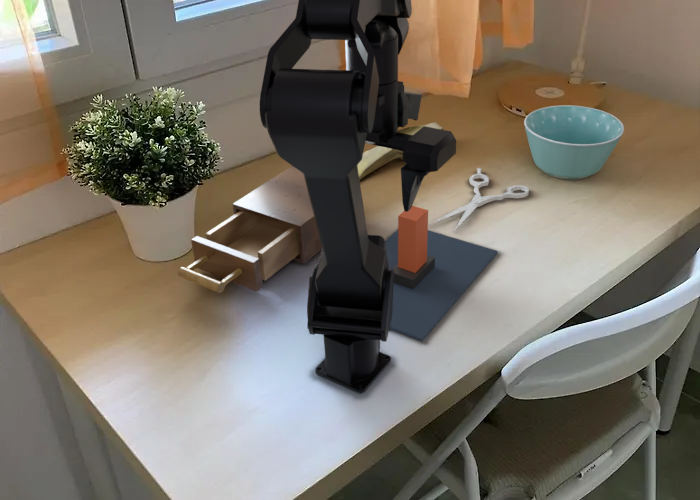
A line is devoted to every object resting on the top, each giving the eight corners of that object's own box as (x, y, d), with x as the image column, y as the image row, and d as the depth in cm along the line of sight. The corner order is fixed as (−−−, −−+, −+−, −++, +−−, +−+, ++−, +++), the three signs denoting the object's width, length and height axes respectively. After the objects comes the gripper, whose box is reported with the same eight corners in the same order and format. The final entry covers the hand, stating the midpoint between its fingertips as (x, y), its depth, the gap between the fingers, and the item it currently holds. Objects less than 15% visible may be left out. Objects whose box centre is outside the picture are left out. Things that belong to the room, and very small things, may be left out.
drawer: (232, 312, 88) (227, 282, 85) (169, 285, 93) (163, 257, 91) (317, 244, 100) (315, 216, 98) (257, 224, 106) (254, 197, 103)
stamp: (413, 289, 91) (414, 227, 86) (389, 281, 93) (389, 219, 88) (434, 267, 95) (437, 206, 90) (411, 259, 97) (412, 199, 92)
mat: (422, 341, 83) (422, 338, 83) (319, 301, 90) (319, 299, 90) (497, 253, 98) (497, 250, 98) (404, 225, 106) (404, 223, 105)
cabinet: (303, 264, 98) (300, 226, 94) (237, 240, 104) (232, 203, 100) (359, 219, 108) (358, 183, 104) (295, 199, 113) (292, 165, 110)
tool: (347, 191, 117) (344, 167, 115) (329, 175, 122) (326, 152, 119) (456, 150, 125) (456, 127, 122) (435, 136, 130) (435, 114, 127)
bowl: (612, 196, 111) (622, 148, 106) (512, 183, 116) (517, 136, 111) (617, 154, 123) (626, 110, 118) (526, 144, 128) (531, 101, 123)
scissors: (536, 184, 113) (472, 237, 100) (535, 188, 114) (472, 241, 101) (478, 167, 119) (411, 215, 106) (478, 171, 119) (411, 220, 106)
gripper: (479, 68, 79) (470, 190, 88) (338, 47, 88) (343, 161, 96) (437, 100, 71) (432, 231, 80) (287, 74, 80) (297, 195, 88)
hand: (374, 201), depth 86 cm, fingers open, 9 cm apart
